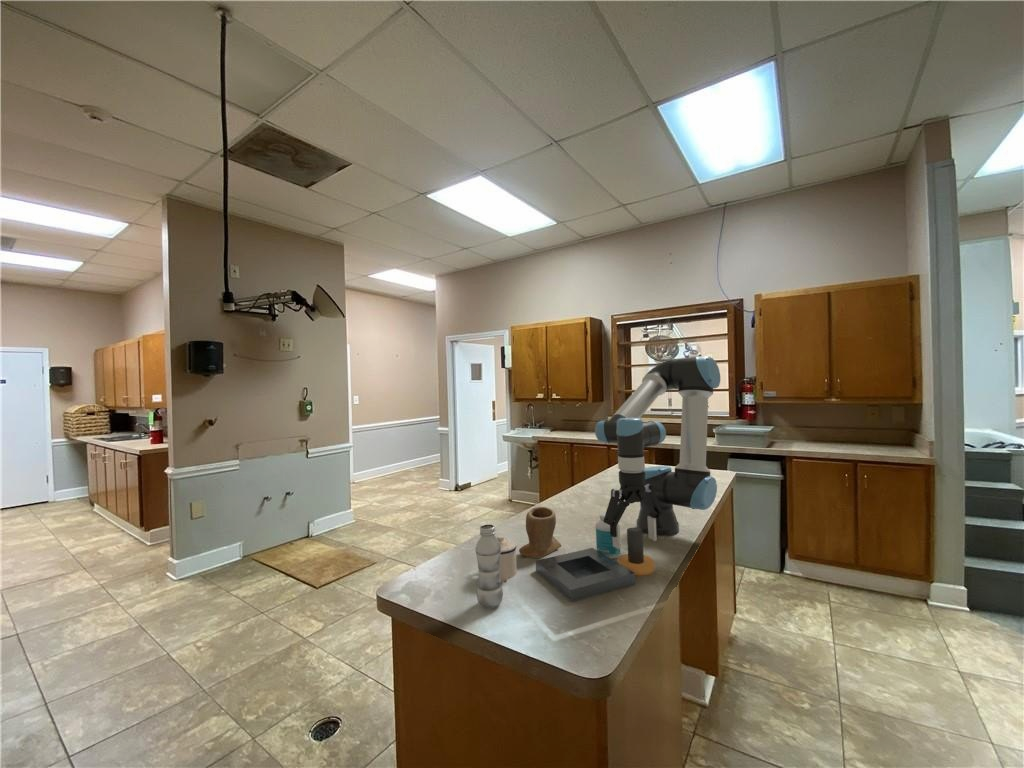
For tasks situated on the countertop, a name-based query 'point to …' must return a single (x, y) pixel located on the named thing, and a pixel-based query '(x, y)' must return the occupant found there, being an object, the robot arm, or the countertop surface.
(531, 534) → the stone cup
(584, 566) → the grey square socket block
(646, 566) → the peg on round base
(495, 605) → the plastic bottle
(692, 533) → the countertop surface
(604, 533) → the pill bottle
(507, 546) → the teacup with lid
